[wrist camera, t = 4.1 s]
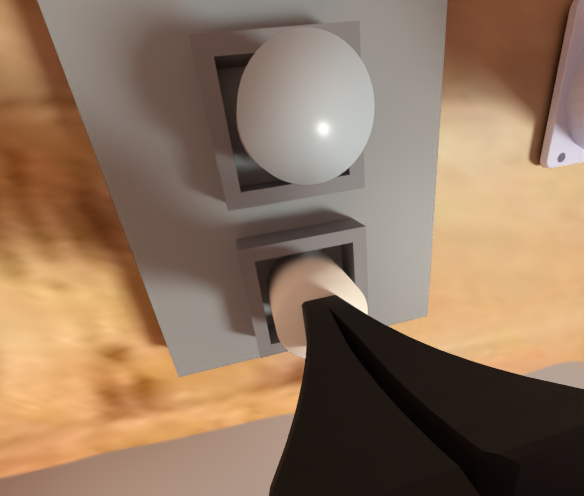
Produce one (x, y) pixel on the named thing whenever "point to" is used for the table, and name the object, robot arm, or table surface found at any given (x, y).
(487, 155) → the table surface
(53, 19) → the panel
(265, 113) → the button light grey
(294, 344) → the button ivory
